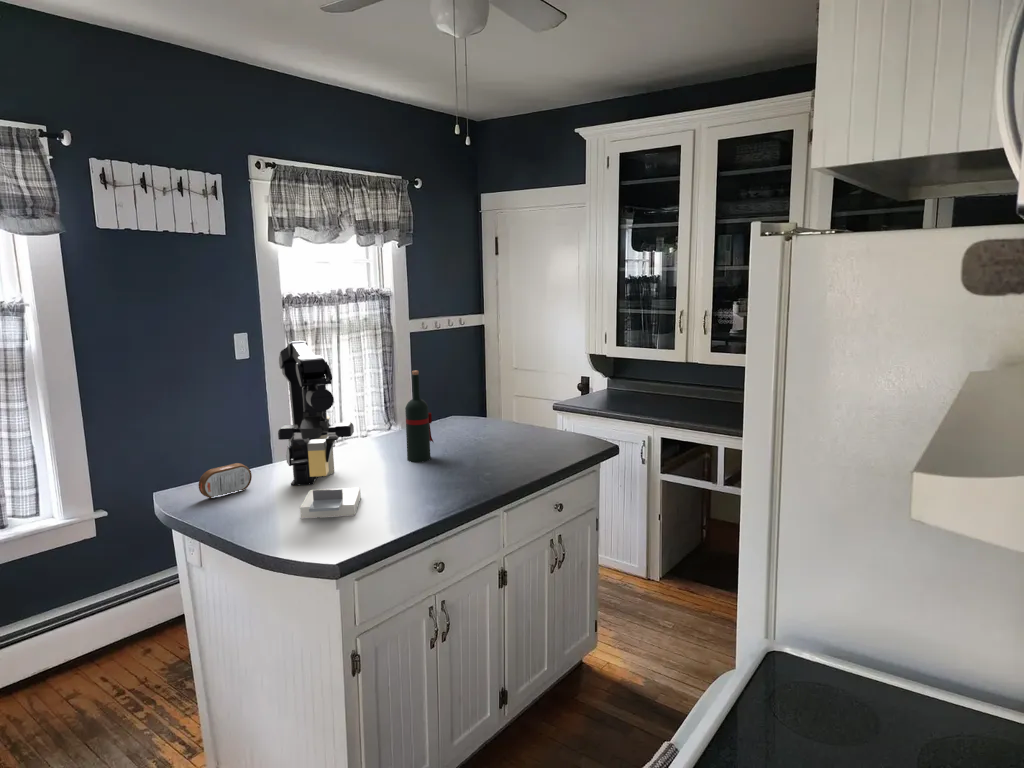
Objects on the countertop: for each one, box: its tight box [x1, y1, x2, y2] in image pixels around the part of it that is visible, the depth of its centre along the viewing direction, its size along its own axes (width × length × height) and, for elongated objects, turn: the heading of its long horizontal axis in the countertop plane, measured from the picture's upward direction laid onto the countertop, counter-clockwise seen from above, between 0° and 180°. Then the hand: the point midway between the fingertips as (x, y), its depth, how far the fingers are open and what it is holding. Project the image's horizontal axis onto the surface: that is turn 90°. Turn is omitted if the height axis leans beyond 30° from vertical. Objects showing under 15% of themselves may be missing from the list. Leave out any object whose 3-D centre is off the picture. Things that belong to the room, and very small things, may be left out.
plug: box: [308, 439, 329, 477], centre depth 181 cm, size 4×4×9 cm
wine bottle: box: [405, 370, 434, 463], centre depth 226 cm, size 8×10×30 cm
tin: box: [197, 462, 253, 499], centre depth 195 cm, size 15×3×8 cm, turn 141°
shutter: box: [309, 487, 343, 512], centre depth 175 cm, size 7×7×3 cm
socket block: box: [299, 487, 362, 519], centre depth 183 cm, size 14×14×3 cm
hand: (318, 462), depth 181 cm, fingers closed on plug, 4 cm apart
